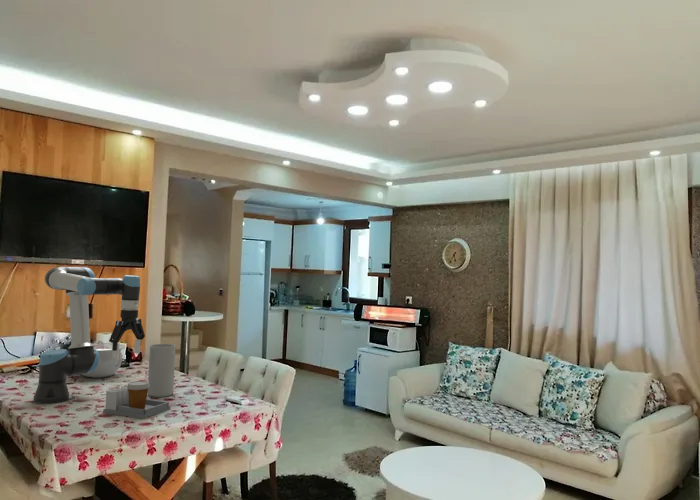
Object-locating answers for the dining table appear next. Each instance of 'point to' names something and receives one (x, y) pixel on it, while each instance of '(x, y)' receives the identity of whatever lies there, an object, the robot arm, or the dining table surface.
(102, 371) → the chamber pot
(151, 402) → the dish rack
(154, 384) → the cylinder vase
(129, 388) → the disposable coffee cup
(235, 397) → the dining table surface
